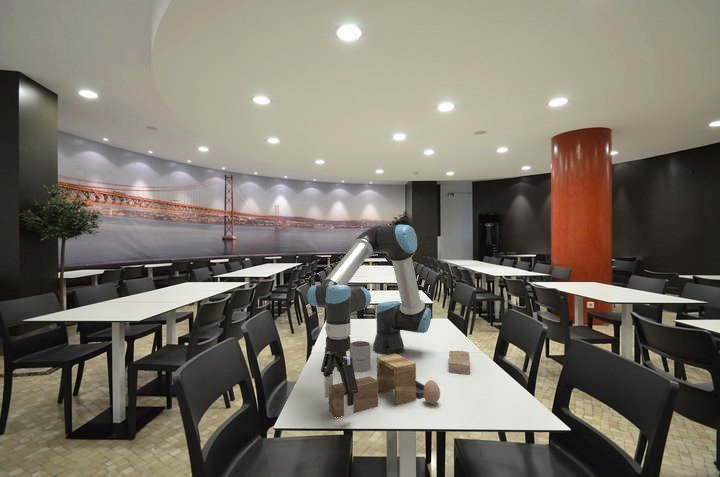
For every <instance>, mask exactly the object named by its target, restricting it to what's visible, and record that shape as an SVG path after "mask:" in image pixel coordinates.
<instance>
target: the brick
mask: <svg viewBox="0 0 720 477" xmlns="http://www.w3.org/2000/svg"><path fill="white" fill-rule="evenodd" d="M448 353H449V354H448V356H449V358H448V372H449V373H450V374H454V375H455V374H456V375H457V374H458V375H463V376H469V375H470V369H471V362H470V353H469V351H465V350H449V352H448Z"/></svg>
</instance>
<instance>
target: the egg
mask: <svg viewBox="0 0 720 477" xmlns="http://www.w3.org/2000/svg"><path fill="white" fill-rule="evenodd" d="M424 385H425V386H424V390H423V394H424V397H423V398H424V399H425V401H426V402H427V403H428V404H431V405H434V404H436V403H437V402H438V401H439V399H440V398H441V391H440V390H441V389H440V387H439V385H438V383H437V382H436V381H434V380H433V379H431V380H428V381H426V383H425V384H424Z"/></svg>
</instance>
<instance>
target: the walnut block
mask: <svg viewBox="0 0 720 477" xmlns="http://www.w3.org/2000/svg"><path fill="white" fill-rule="evenodd" d="M356 383H357V388H358V393H356V394H354V401H353V402H354V404H353V414H356V413H360V412H363V411H366V410H369V409H373V408H377V407H379V394H378V381H377V379H375V378H373V377H372V376H370V375H369V376H364V377H360V378H356ZM344 393H345V389H344V385H343V382H339V383H335V384H333V385H330V386H329V397H328V412H329V413H330V414H331V415H332V416H333V417H334V418H335V417H336V418H337V417H340V418H342V417H341V416H343V417H345V416H344ZM336 418H335V419H336ZM337 419H338V418H337Z"/></svg>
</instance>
